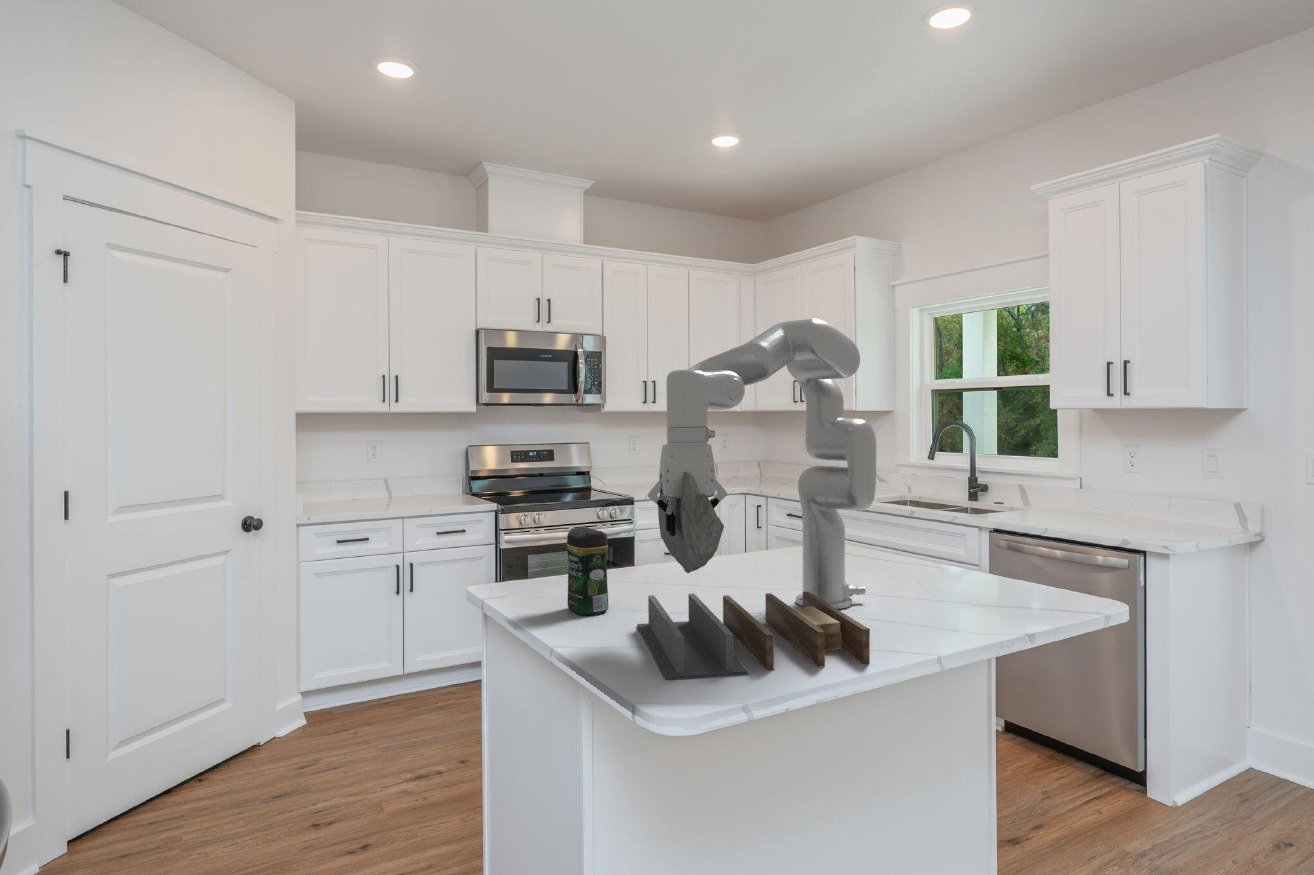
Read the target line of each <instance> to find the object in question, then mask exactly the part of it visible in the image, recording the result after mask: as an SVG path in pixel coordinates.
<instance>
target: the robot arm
mask: <svg viewBox="0 0 1314 875" xmlns="http://www.w3.org/2000/svg"><path fill="white" fill-rule="evenodd" d="M860 355H861V354H860V351H859V348H858V346H857V345H856V343H855V342H854V341H853V340H852V339H851V338H849V337H848V336H846V335H845V334H844V333H842V332H841V331H840V330H838V329H837V328H835V327H834V326H833V325H831V324H830V323H828V322H826V321H824V320H821V319H818V318H805V319H804V318H803V319H798V320H797V319H796V320H788V321H787V320H786V321H783V322H778V323H776V324H773V325H772V326H770V327H769V328H767V329H766V330H764V331H763V332H761V333H759V334H758V335H756V336H755V337H753V338H752V339H750V340H748V341H747V342H746V343H743V344H741V345H738V346H736V347H733V348H731V349H728V350H726V351H724V352H721V353H719V354H716V355H713V356H711V357H708V358H706V359H704V360H702V361H699V362H698V363H696V364H695V365H693V366H691V367H689V368H688V369H677V370H673V371H670V372H669V373H668V374H667V376H666V444H662V447H661V451H660V460H659V470H658V471H659V472H658V473H659V475H658V476H659V477H658V480H657V481H656V483H655V484H654V486H653V487H652V488H651V489H650V491H649V492H648V493H647V495H646V496H647V498H649V499H650V500H651V501H652V502H653V503H654V504H656V505H657V507H658V506H659V507H660V508H661V509H662V510H663V511H664V512H665V513H666V531H669V535H671V536H675V535H676V517H675V515H674V511H673V509H674V506H675V503H676V500H677V499H681V498H682V488H683V479H684V472H687V473H689V474H691V475H692V476H693V477H694V479H695V481H696V483H697V486H698V489H699V492H700V493H702V494H705V495H706V496H707V497H708V498H711V497H712V498H711V499H709V501H710V502H711V505H712V507H713V509H714V510H715V508H716V507H717V506H718V505H719V503H720V502H721V501H722V500H724V499H725V498H726V497H727V496H728V492H727V491H726V489H725V488H724V487H723V486H722V485H721V484H720V482H719V481H718V480H717V479H716V468H715V461H714V454H713V448H712V444H710V443H708V442H709V440H710V439H712V438H713V439H714V438H716V432H715V430H711V429H710V428H709V427H708V411H718V410H719V411H721V410H723V411H724V410H730V409H733V408H735V407H737V406H738V405H739V404H741V401H742V400H743V399H744V397H745V391H746V390H745V389H746V388H745V387H746V386H750V385H751V386H752V385H754V384H757V383H761V382H764V381H766V380H768V379H769V378H771V377H772V376H773V375H775V374H776V373H777V372H779V371H780V370H781V369H783V368H784V367H786V369H787V371H788V373H790V376H791V377H793V378H794V379H795V381H796V382H797V384H798V385H799V387H800V388H801V390H802V392H803V395H804V399H805V448H806V452H807V454H808V455H809V456H810V457H811V458H812V459H816V460H820V461H839V462H841V461H842V462H846V466H847V467H846V466H830V465H829V466H828V465H815V466H810V467H807V468H806V469H805V470H803V471H802V472H801V474H800V475H799V478H798V482H797V491H798V492H797V493H798V497H799V502H800V507H801V516H802V593H799V594H798V595H796V596H795V602H796V603H797V604H798V605H800V607H801V606H802V607H803V592H810V593H811V594H813V595H815V596H816V597H818V598H820V599H821V600H823V601H824V602H826V603H828V604H829V605H831V606H833V607H834V608H836V609H838V610H840V609H846V608H849V607H851V606H852V605H853V599H852V598H851V597H853V595H858V596H859V595H863V596H864V595H866V591H867V590H866V587H865V586H864V585H855V584H853V585H852V584H850V585H849V584H847V583H846V528H845V523H844V520H843V518H842V516H841V514H840V512H839V511H838V510H846V511H857V512H859V511H866V510H868V509H869V508H870V507H871V506H872V505H873V502H874V500H875V496H876V488H877V486H876V485H877V484H876V483H877V437H876V432H875V430H874V428H873V426H872V425H871V424H870V423H869V422H868V421H866V420H864V419H861V418H845V404H844V402H845V401H844V395H843V392H842V390H841V388H840V386H839V385H838V384H837V382H836V379H837V380H838V379H840V380H842V379H846V378H850V377H852V376H853V375H855V374H856V373H857V372H858V370H859V367H860V366H861V356H860ZM660 494H661V495H663V496H665V497H667V500H666V503H665V502H664V501H663V500H661V499H660V498H659V495H660ZM713 496H714V497H713Z"/></svg>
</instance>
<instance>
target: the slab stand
mask: <svg viewBox="0 0 1314 875" xmlns="http://www.w3.org/2000/svg"><path fill="white" fill-rule="evenodd" d="M647 601H648V612H647V613H648V623H637V624H636V625H637V626H636V627H637V630H638V631H639V632H640V635H641V637H642V638H643V640H644V642H645V644H646V646H647V648H648V650H649V652H650V654H651V655H652V658H653V659H654V661H655V663H656V666H657V667H658V669H659V671H660V673H661V675H662V678H664V681H672V680H686V679H689V680H690V679H702V678H716V677H731V676H733V677H734V676H746V675H749V671H748V669H747V668H746V667H745V666H744V665H743V663H742V662H740V660H739V659H738V658H737V657H736V656H735V655H734V635H733V634H732V633H731V631H730V630H729V629H728V628H727V627H726V626H725V625H724V624H723V621H721V620H720V619H719V618H718V617H717V615H716V614H715V613H713V611H712V610H710V608H708V606H707V605H706V604H705V603H704V602H703V601H702V600H701V599H700V598H699V596H698V595H697V594H696V593H688V620H687V621H673V620H672V618H671V617H670V615H669V614H668V612H667V611H666V610H665V609H664V607H663V606H662V604H661V603H660V601H659V600H658V598H657V597H656V596H655V595H654V594H653V595H652V594H651V595H648V599H647Z"/></svg>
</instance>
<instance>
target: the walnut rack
mask: <svg viewBox="0 0 1314 875" xmlns="http://www.w3.org/2000/svg"><path fill="white" fill-rule="evenodd" d="M802 594H803V606H802V607H815V608H816V609H818V610H820V611H821V612H823V613H825V614H827V615H828V616H830V617H832V618H833V619H835V620H837V621H839V622H840V632H841V633H842V650H843V651H845V652H846V653H847V654H849V655H850V656H852V658H854V659H855V660H857V661H858V662H860V663H861V664H863V665H864V664H866V665H867V664H870V662H871V661H870V657H871V656H870V652H871V651H870V649H871V648H870V646H871V645H870V644H871V643H870V631H871V630H870V628H868V627H867V626H865V625H864V624H862V623H860V622H859V621H857V620H856V619H854V618H852V617H851V616H849V615H848V614H846V613H844V612H842V611H840V609H836V608H834V607H833V606H831V605H829V604H828V603H826V602H824V601H823V600H821V599H820V598H818V597H816V596H815V595H813V594H811V593H810V592H803V591H802ZM792 608H793V607H791V606H790V605H788V604H787V603H786V602H784V601H782V600H781V599H779V598H778V597H777V596H775V595H774V594H773V593H772V592H769V593H766V592H765V623H766V624H767V625H769V626H770V627H771V628H772V629H773V630H774V631H775V632H777V633H778V634H779V635H780V636H781V637H783V638H784V639H785V640H786V642H788V643H790V644H791V645H792V646H793V647H794V648H795V649H797V650H798V652H800V653H802V655H804V656H805V657H806V658H807V659H808V660H810V661H811V662H812V663H813V664H814V665H815V666H816V667H818V668H821V667H826V650H825V631H823V630H822V629H820V628H819V627H818V626H816V625H815V624H813V623H812V622H811V621H809V620H808V619H806V618H805V617H804V616H802V615H801V614H799V613H798V612H797V611H795V610H794V609H792ZM722 623H723V624H724V625H725V626H726V627H727V628H728V629H729V630H730V631H731V633H732V634H733V637H735V639H737V641H738V642H739V643H740V644H741V645H742V646H743V647H744V648H745V649H746V650H747V651H748V652H749V653H750V654H751V656H753V657H754V659H756V660H757V662H758V663H759V664H760V665H761V666H762V667H763V668H764V669H765V670H766V671H773V670H775V669H774V668H775V667H774V665H775V662H774V660H775V659H774V658H775V657H774V655H775V654H774V653H775V652H774V650H775V649H774V645H775V644H774V634H773V633H772V632H771V631H770V630H769V628H768V629H767V627H766V626H764V625H763V624H762V623H761V622H760V621H758V619H757V618H755V617H754V616H753V615H751V613H750V612H749V611H747V610H746V609H745V608H744V607H743V606H742V605H740V604H739V603H738V602H737V601H736V600H734V599H733V598H732V597H731V596H730V595H729V594H728V595H722Z"/></svg>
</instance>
